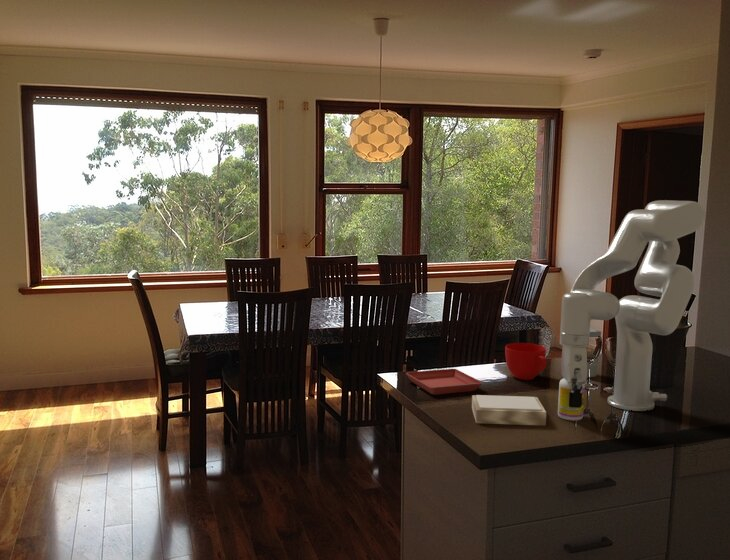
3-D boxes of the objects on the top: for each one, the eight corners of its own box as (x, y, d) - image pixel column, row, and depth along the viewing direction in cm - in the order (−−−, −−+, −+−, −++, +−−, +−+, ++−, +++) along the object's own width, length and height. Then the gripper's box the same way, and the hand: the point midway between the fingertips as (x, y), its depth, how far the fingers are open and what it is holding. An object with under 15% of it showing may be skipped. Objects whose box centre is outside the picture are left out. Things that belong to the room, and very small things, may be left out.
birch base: (536, 409, 192) (537, 395, 191) (545, 425, 179) (546, 410, 178) (471, 407, 193) (472, 393, 192) (476, 423, 180) (476, 408, 179)
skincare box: (564, 372, 231) (567, 326, 229) (580, 370, 235) (582, 325, 233) (583, 379, 224) (586, 331, 222) (599, 376, 227) (602, 329, 225)
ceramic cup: (527, 387, 213) (529, 356, 212) (496, 373, 229) (497, 344, 227) (560, 383, 219) (562, 352, 217) (528, 370, 234) (529, 341, 233)
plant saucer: (454, 377, 225) (455, 367, 225) (483, 392, 209) (484, 382, 208) (404, 382, 219) (404, 372, 218) (430, 398, 202) (430, 387, 202)
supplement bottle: (584, 422, 182) (587, 375, 180) (558, 420, 183) (560, 373, 182) (581, 414, 188) (584, 368, 187) (556, 412, 190) (559, 367, 188)
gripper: (597, 346, 174) (593, 412, 176) (580, 333, 191) (577, 393, 193) (567, 345, 175) (563, 411, 177) (553, 332, 192) (550, 391, 194)
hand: (570, 401), depth 185 cm, fingers open, 9 cm apart
